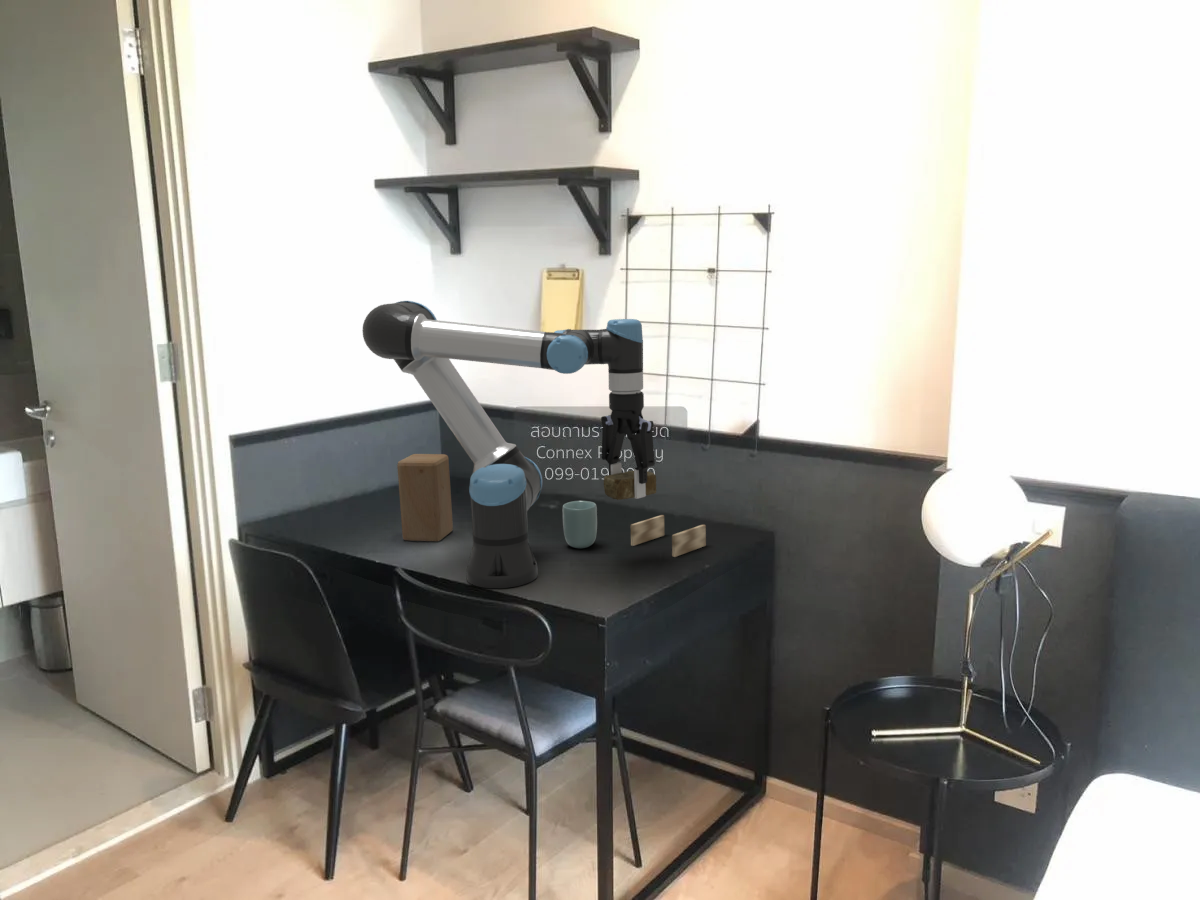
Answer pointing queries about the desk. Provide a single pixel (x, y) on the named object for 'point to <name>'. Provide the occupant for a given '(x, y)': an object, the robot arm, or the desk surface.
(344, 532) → the desk surface
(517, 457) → the robot arm
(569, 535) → the cup
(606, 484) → the stone block
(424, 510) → the wooden block
